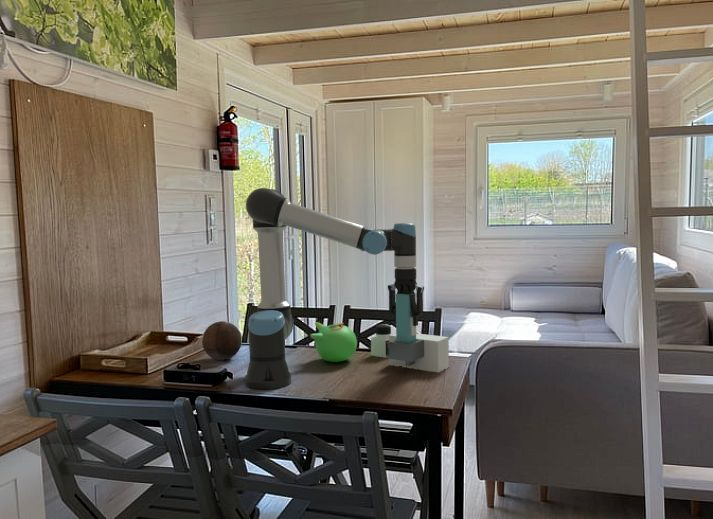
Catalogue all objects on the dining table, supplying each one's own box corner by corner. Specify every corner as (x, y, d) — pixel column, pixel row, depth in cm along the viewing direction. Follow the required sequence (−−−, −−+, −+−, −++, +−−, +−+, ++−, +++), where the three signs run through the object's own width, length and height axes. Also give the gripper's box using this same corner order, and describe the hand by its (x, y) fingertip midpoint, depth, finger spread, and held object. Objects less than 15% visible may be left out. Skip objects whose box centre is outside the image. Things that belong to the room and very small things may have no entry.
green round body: (356, 366, 213) (355, 326, 212) (310, 367, 214) (309, 327, 213) (357, 354, 231) (356, 318, 230) (315, 355, 232) (314, 318, 231)
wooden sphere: (247, 355, 234) (246, 318, 233) (234, 364, 220) (233, 325, 218) (211, 354, 237) (210, 318, 235) (196, 364, 222) (194, 325, 221)
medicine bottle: (386, 358, 225) (385, 327, 224) (370, 355, 229) (370, 325, 228) (396, 354, 231) (395, 324, 230) (381, 352, 235) (380, 322, 234)
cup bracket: (389, 367, 204) (388, 341, 203) (402, 361, 211) (401, 336, 211) (411, 370, 199) (411, 344, 198) (424, 364, 206) (424, 339, 206)
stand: (389, 364, 215) (389, 335, 214) (400, 360, 221) (400, 331, 220) (438, 372, 203) (438, 341, 202) (448, 367, 210) (448, 337, 209)
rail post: (396, 350, 204) (395, 293, 203) (404, 348, 208) (403, 292, 207) (409, 352, 201) (408, 294, 200) (416, 349, 205) (415, 293, 204)
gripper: (433, 267, 200) (434, 334, 202) (389, 266, 211) (390, 329, 213) (422, 269, 194) (423, 338, 196) (377, 267, 205) (378, 333, 207)
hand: (406, 334), depth 204 cm, fingers closed on rail post, 5 cm apart
